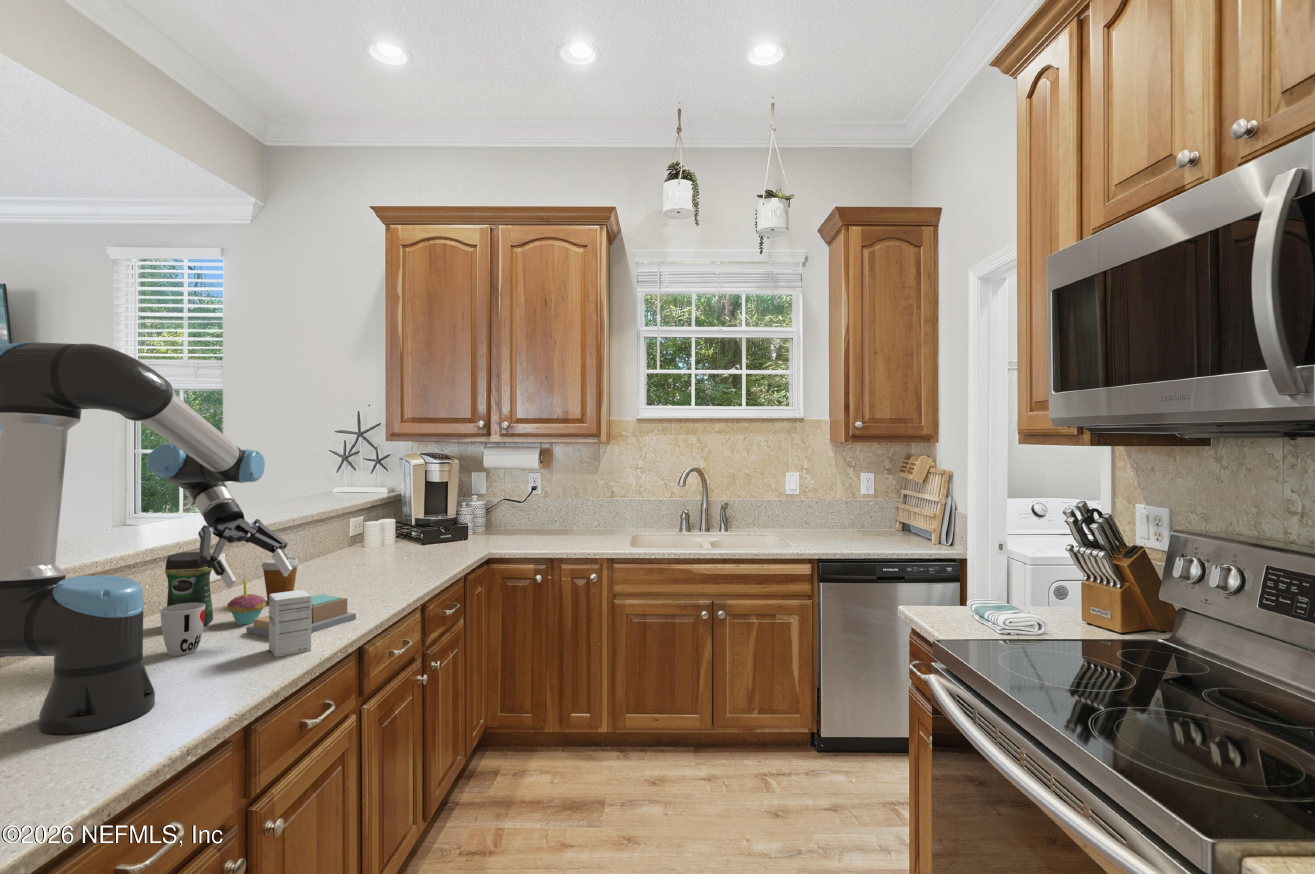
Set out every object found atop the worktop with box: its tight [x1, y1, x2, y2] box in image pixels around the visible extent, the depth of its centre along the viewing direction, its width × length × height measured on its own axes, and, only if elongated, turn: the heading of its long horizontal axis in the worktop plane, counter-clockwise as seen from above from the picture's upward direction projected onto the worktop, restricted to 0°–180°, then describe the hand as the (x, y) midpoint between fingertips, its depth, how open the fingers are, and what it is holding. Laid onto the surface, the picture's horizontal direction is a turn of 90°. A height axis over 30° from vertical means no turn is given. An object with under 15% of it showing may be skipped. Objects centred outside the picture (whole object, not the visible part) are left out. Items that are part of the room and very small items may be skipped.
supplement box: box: [268, 589, 312, 658], centre depth 147 cm, size 7×7×13 cm
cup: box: [159, 603, 205, 657], centre depth 145 cm, size 8×8×10 cm
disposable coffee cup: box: [261, 556, 300, 604], centre depth 189 cm, size 10×10×12 cm
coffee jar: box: [164, 551, 214, 626], centre depth 165 cm, size 10×8×19 cm
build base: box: [245, 594, 357, 638], centre depth 165 cm, size 20×14×6 cm
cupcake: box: [226, 577, 267, 626], centre depth 168 cm, size 9×8×12 cm
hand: (261, 578), depth 151 cm, fingers open, 13 cm apart
